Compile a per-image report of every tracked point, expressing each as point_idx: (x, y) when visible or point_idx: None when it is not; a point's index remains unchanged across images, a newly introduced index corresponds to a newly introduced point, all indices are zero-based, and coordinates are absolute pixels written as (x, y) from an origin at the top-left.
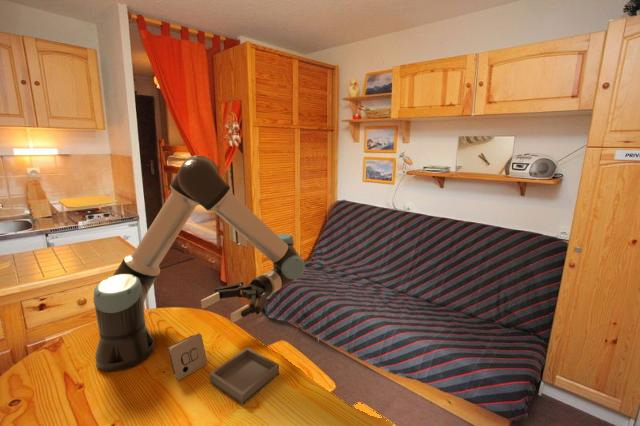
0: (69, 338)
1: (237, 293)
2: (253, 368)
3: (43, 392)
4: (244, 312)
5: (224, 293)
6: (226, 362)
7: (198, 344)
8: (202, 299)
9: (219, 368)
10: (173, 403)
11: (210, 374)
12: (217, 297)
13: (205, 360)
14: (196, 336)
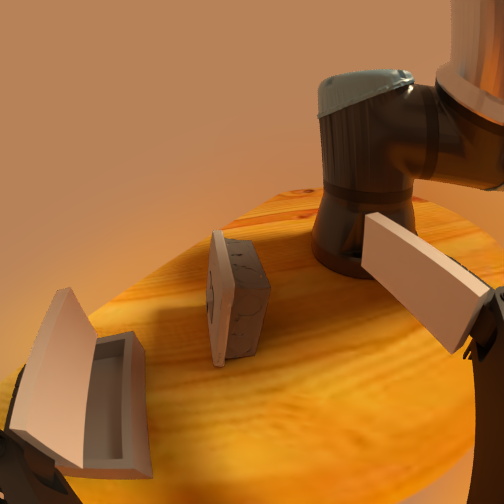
0: (429, 204)
1: (488, 497)
2: (83, 441)
3: (312, 199)
4: (21, 370)
5: (497, 356)
6: (128, 378)
7: (215, 301)
8: (385, 217)
9: (126, 354)
10: (159, 292)
11: (129, 332)
12: (450, 314)
13: (212, 355)
14: (219, 275)
